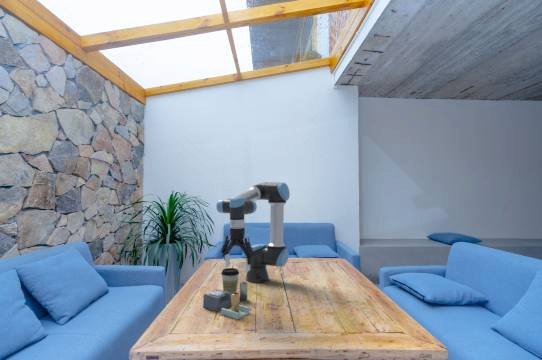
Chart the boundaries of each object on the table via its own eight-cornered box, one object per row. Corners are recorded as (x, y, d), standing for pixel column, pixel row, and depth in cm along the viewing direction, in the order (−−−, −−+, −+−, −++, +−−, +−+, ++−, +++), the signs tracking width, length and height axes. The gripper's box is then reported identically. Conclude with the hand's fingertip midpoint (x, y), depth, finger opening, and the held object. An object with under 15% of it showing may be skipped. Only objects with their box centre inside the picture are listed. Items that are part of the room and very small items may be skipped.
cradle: (217, 301, 167) (217, 289, 167) (231, 305, 161) (231, 292, 162) (203, 307, 159) (203, 294, 159) (217, 311, 153) (217, 298, 153)
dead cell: (243, 298, 172) (243, 280, 173) (248, 299, 170) (248, 281, 170) (238, 300, 169) (238, 282, 169) (244, 301, 167) (244, 283, 167)
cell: (234, 310, 153) (234, 290, 153) (240, 312, 151) (241, 292, 151) (229, 313, 150) (229, 292, 150) (235, 315, 147) (235, 294, 148)
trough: (233, 308, 157) (233, 303, 157) (249, 313, 151) (249, 307, 151) (221, 314, 150) (221, 308, 150) (237, 319, 144) (237, 313, 144)
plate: (217, 293, 164) (217, 290, 164) (225, 295, 161) (225, 292, 161) (209, 296, 159) (209, 293, 160) (217, 298, 156) (217, 295, 156)
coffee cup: (222, 300, 168) (222, 272, 168) (220, 295, 177) (220, 268, 178) (240, 299, 170) (240, 271, 171) (237, 293, 180) (237, 267, 180)
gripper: (214, 226, 165) (214, 266, 165) (252, 230, 151) (252, 274, 151) (223, 224, 171) (224, 263, 171) (261, 228, 157) (261, 270, 157)
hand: (237, 268), depth 161 cm, fingers open, 13 cm apart
